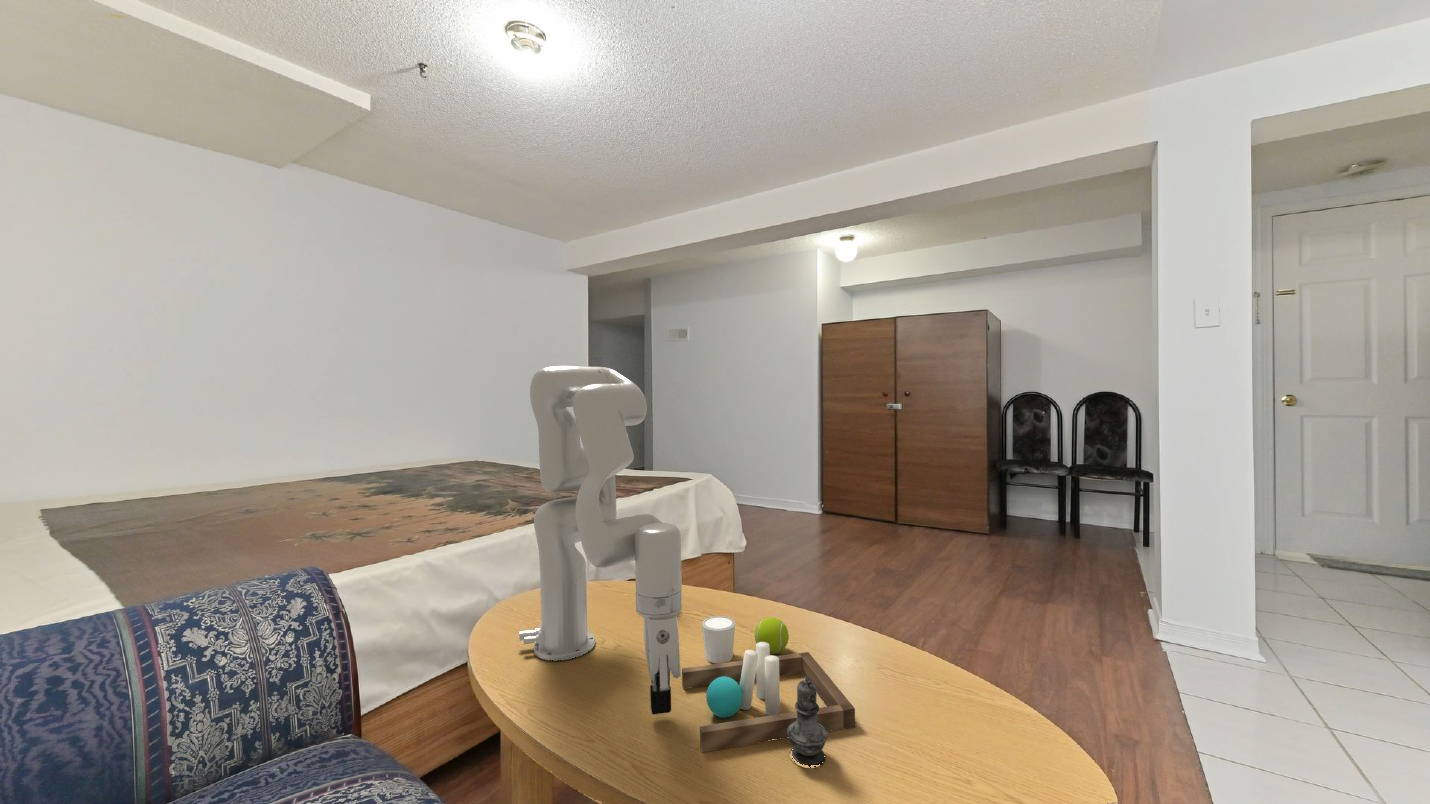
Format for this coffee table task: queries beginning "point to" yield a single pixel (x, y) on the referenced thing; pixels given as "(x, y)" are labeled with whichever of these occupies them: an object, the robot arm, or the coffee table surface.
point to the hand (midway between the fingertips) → (660, 710)
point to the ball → (724, 697)
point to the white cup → (718, 638)
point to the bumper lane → (772, 726)
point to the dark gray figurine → (807, 727)
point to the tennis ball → (772, 634)
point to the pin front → (748, 678)
